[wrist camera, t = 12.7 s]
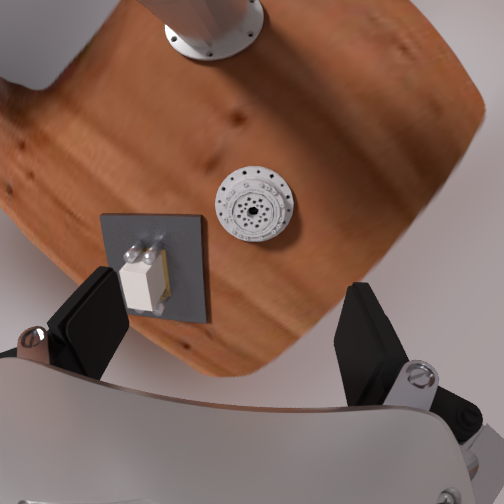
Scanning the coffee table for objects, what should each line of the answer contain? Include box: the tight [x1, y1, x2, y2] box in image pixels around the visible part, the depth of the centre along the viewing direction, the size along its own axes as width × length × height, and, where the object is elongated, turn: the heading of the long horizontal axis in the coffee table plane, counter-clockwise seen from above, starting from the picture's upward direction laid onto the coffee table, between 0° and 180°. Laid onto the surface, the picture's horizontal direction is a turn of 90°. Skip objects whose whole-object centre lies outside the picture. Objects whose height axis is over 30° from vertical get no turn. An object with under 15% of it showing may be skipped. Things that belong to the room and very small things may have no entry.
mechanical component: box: [215, 166, 294, 242], centre depth 34 cm, size 10×4×10 cm
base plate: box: [100, 213, 208, 323], centre depth 38 cm, size 18×16×5 cm
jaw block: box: [119, 252, 166, 311], centre depth 37 cm, size 6×4×6 cm, turn 178°
